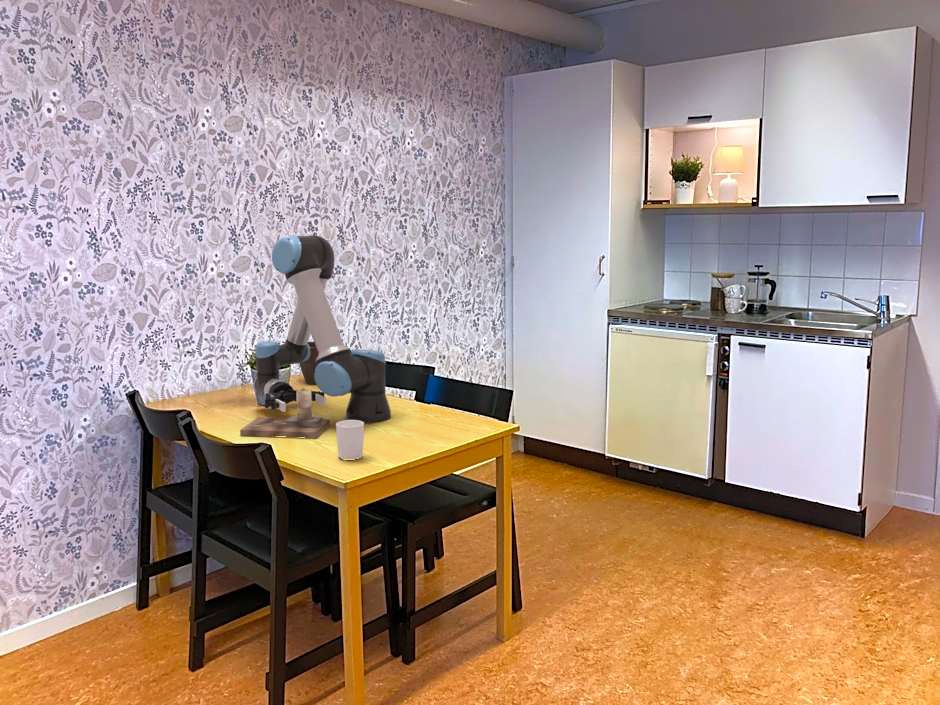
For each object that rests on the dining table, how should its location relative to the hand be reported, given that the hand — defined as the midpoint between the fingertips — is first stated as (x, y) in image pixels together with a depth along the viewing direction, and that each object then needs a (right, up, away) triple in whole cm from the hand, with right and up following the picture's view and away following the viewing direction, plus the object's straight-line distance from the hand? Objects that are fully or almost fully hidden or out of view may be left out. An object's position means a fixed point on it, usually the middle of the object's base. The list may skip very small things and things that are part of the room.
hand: (305, 404), depth 252 cm
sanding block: (-1, -7, +2) cm, 7 cm away
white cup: (+18, -14, -24) cm, 33 cm away
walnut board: (-7, -8, +3) cm, 11 cm away
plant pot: (-11, +4, +74) cm, 75 cm away
